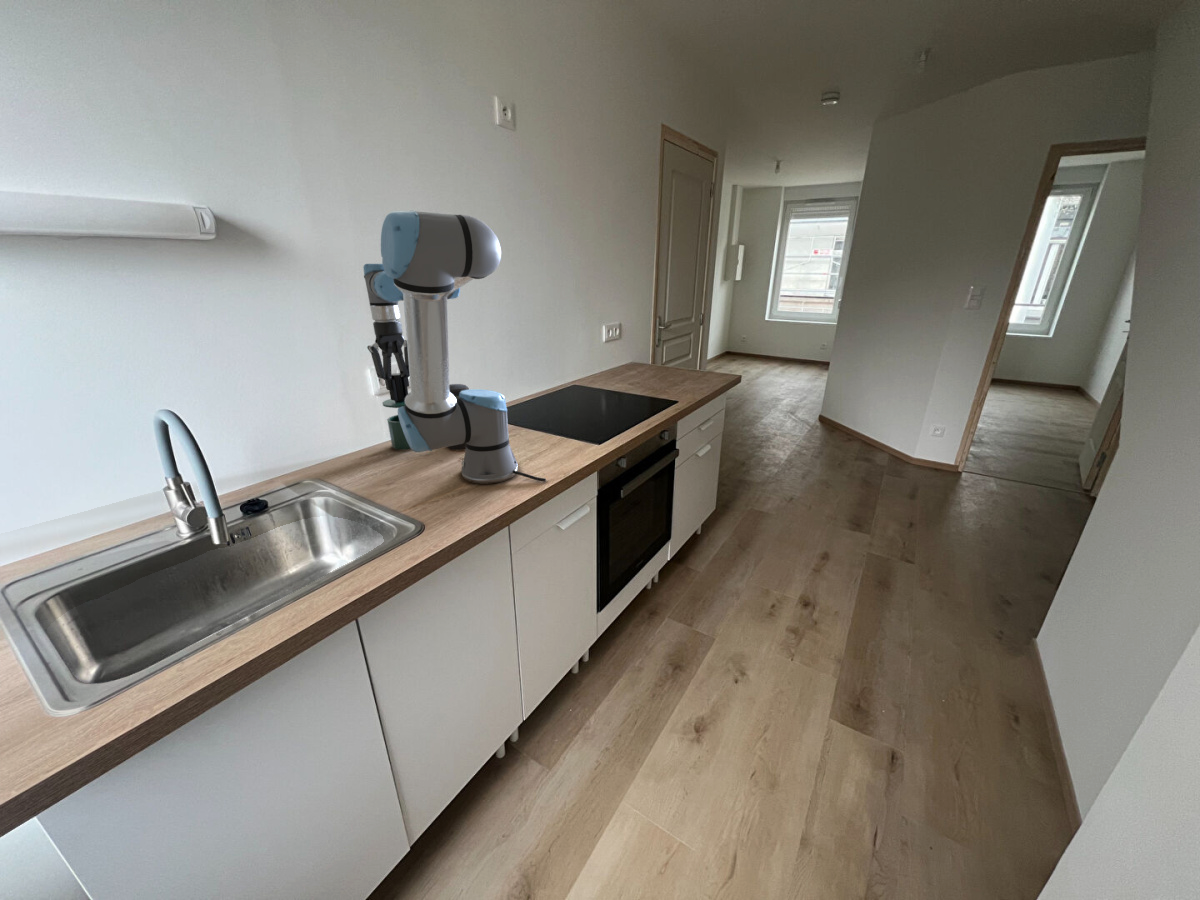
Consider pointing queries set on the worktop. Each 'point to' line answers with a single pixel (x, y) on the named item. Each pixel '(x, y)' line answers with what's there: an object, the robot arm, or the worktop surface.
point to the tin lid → (400, 393)
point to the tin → (397, 433)
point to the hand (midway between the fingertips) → (400, 398)
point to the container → (455, 390)
